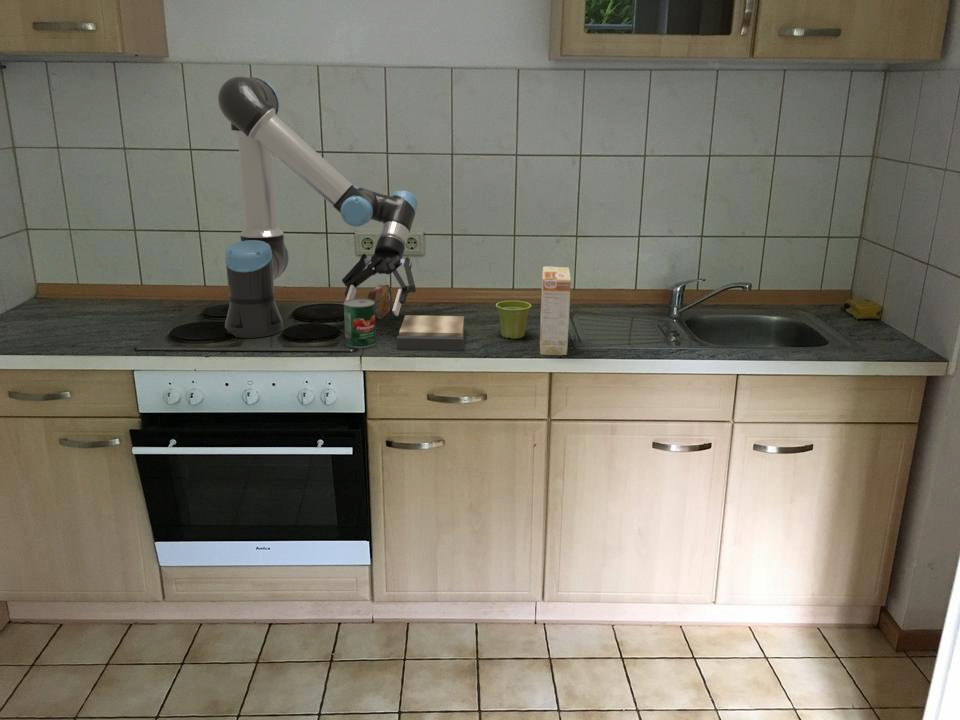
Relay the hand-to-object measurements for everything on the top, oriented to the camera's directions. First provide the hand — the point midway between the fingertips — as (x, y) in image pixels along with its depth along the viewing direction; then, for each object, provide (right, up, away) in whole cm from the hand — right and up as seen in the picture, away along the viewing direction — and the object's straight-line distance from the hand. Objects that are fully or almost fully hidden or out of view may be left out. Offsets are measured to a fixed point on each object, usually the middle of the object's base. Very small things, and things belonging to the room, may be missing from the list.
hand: (370, 311), depth 201 cm
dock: (+16, -7, +5) cm, 18 cm away
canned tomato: (-3, -9, 0) cm, 9 cm away
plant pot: (+37, -6, +9) cm, 39 cm away
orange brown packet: (-1, 0, +26) cm, 26 cm away
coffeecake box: (+47, -9, 0) cm, 48 cm away
